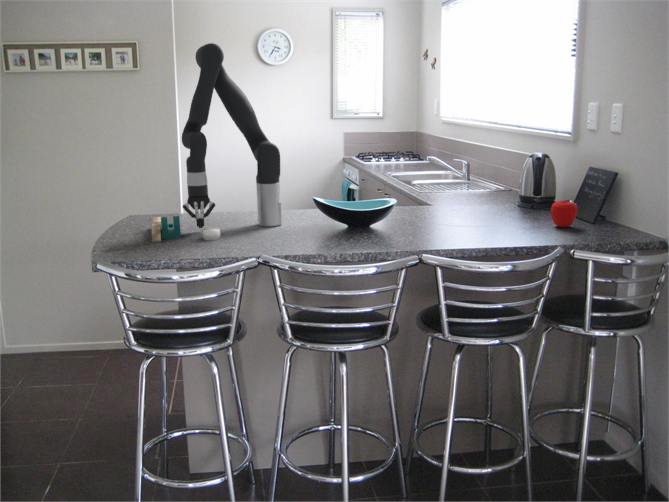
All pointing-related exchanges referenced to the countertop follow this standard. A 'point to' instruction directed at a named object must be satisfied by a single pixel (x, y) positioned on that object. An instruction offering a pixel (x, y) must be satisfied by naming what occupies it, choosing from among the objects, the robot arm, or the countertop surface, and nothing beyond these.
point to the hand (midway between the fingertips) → (200, 227)
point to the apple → (563, 213)
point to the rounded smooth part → (211, 233)
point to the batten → (156, 229)
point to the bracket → (170, 228)
